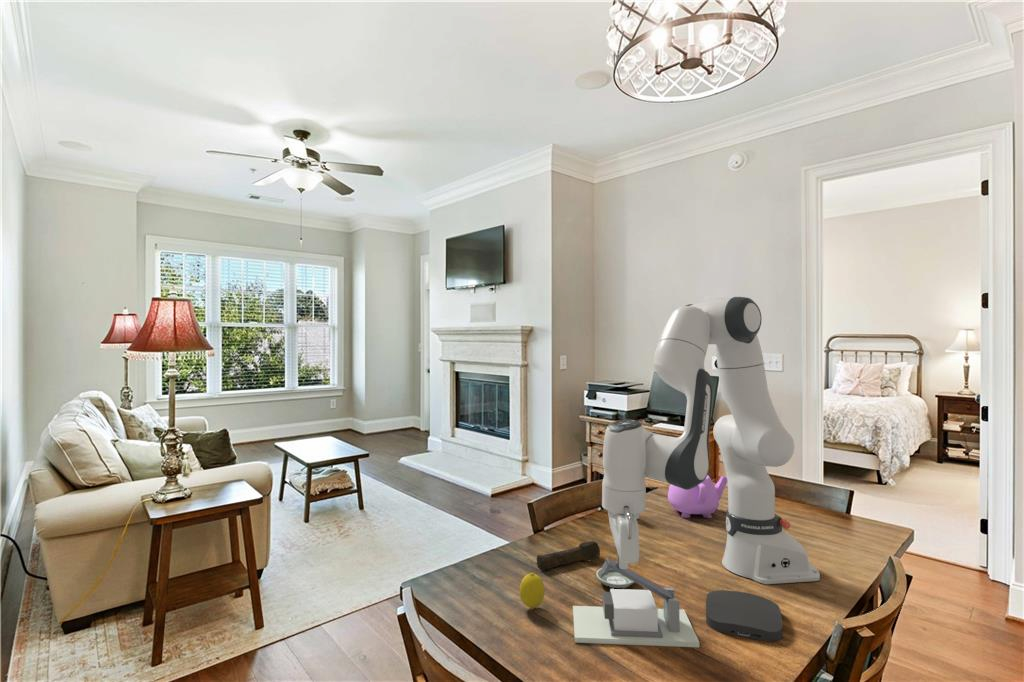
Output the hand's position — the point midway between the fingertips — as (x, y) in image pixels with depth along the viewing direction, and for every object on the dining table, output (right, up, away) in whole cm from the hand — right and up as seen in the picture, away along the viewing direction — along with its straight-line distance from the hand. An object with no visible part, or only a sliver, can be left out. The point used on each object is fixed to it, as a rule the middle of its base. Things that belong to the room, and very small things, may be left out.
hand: (622, 566), depth 106 cm
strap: (+2, -4, 0) cm, 5 cm away
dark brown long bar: (-8, -13, +31) cm, 35 cm away
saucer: (+3, -13, +19) cm, 23 cm away
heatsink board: (+2, -13, 0) cm, 13 cm away
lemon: (-18, -13, +8) cm, 24 cm away
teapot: (+41, -12, +67) cm, 79 cm away
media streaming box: (+26, -13, +3) cm, 30 cm away
